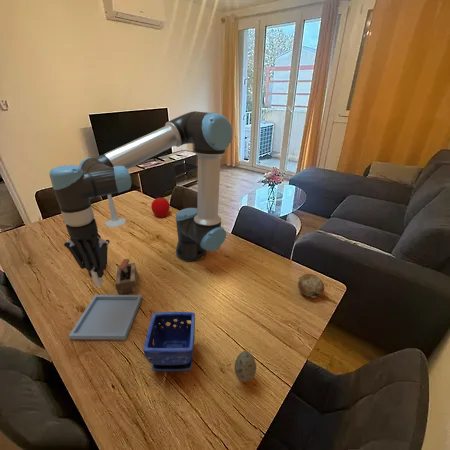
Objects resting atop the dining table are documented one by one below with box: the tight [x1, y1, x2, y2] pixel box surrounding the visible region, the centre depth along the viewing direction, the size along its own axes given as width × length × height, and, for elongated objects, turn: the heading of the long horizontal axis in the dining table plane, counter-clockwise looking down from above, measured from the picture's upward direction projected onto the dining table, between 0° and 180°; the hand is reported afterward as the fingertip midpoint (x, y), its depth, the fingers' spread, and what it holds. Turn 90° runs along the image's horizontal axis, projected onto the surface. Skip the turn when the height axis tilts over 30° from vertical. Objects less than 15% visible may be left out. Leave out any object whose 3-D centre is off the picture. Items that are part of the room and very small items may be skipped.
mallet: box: [119, 258, 131, 280], centre depth 102 cm, size 3×6×10 cm, turn 0°
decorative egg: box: [234, 350, 257, 382], centre depth 68 cm, size 6×6×10 cm
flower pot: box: [143, 311, 196, 372], centre depth 73 cm, size 13×13×12 cm
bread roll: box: [297, 273, 325, 299], centre depth 98 cm, size 10×10×8 cm
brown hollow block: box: [114, 262, 138, 295], centre depth 102 cm, size 12×7×6 cm, turn 17°
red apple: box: [151, 197, 171, 218], centre depth 156 cm, size 11×11×13 cm
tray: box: [68, 294, 143, 341], centre depth 87 cm, size 18×18×2 cm
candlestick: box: [104, 194, 127, 228], centre depth 143 cm, size 13×13×30 cm
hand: (99, 284), depth 82 cm, fingers closed
